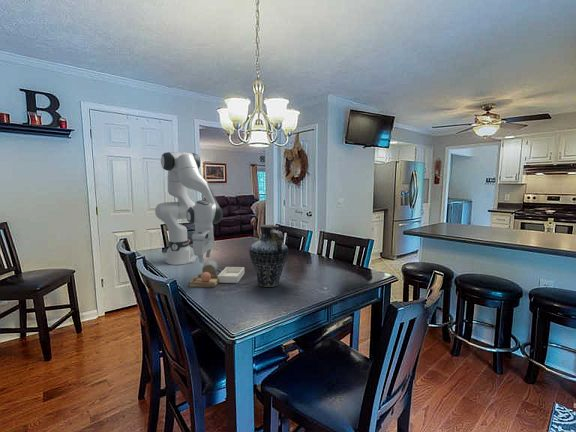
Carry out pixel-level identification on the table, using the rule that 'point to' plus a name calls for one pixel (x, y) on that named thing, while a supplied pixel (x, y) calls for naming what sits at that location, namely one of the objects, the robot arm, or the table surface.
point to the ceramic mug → (211, 267)
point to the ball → (205, 277)
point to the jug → (269, 256)
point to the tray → (199, 283)
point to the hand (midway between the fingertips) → (205, 259)
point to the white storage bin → (231, 275)
